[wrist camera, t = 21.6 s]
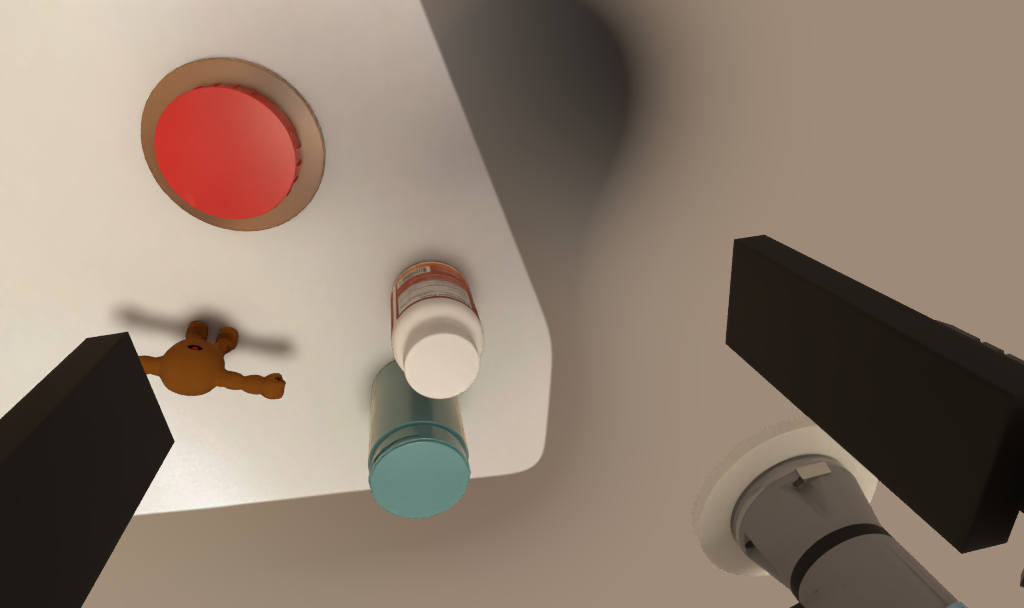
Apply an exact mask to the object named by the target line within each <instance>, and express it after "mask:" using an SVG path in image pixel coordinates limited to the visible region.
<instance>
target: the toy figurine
mask: <svg viewBox="0 0 1024 608" xmlns="http://www.w3.org/2000/svg"><path fill="white" fill-rule="evenodd" d="M207 336H208V327H207V325H206V324H205V323H203V322H200V321H194V322H191V323H190V324H189V326H188V329H187V332H186V340H182V341H180V342H178V343H176V344H175V345H173V346H172V347H171V348H170V349H169V350H168V351H167V352H166V353H165V354H164V355H163V356H161V357H156V358H155V357H151V356H138V357H139V359H140V361H141V364H142V366H143V368H144V371H145V373H146V374H153V375H157V376H159V377H160V378H161V380H162V382H163V384H164V385H165V386H166V387H167V388H168V389H169V390H170V391H172V392H175V393H177V394H180V395H186V396H197V395H203V394H205V393H207V392H209V391H211V390H212V389H213V388H214V387H216V386H219V387H225V388H228V389H231V390H240V389H241V390H243V391H245V392H247V393H250V394H261V395H262V396H264V397H265V398H268V399H280V398H282V396H283V394H284V387H285V384H286V382H285V381H284V380H283V379H282V375H281V374H279V373H273V374H270V375H268V376H266V377H262V376H259V375H249V376H246V377H245V376H243V375H241V374H240V373H237V372H232V371H227V370H226V369H225V362H224V358H223V357H224V355H225V354H227V353H228V352H230V351H231V350H233V349H235V347H236V346H237V342H238V333H237V331H236V330H235V329H232V328H223V329H221V330H220V331H219V333H218V336H217V339H216V344H212V343H210V342H208V341H206V340H207ZM276 380H277V381H276Z"/></svg>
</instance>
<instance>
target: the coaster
mask: <svg viewBox="0 0 1024 608" xmlns="http://www.w3.org/2000/svg"><path fill="white" fill-rule="evenodd" d="M216 83H220V84H230V85H237V84H238V85H239V86H241V87H245V88H248V89H251V90H253V91H255V90H256V91H257V93H259V94H261V95H263V96H265V97H266V98H268V99H269V100H270V101H271V100H272V101H273V103H274V104H275V105H276V106H278V107H279V108H280V109H281V111H282V112H283V113H284V114H286V117H287V118H288V119H289V121H290V122H291V124H292V126H293V128H294V129H296V131H295V132H296V134H297V137H298V140H299V144H300V145H301V148H300V150H301V162H302V164H301V165H300V170H299V173H298V177H299V178H298V179H297V181H296V182H295V184H294V185H293V186H292V188H291V189H290V190H291V192H290V193H289V195H288V196H287V197H285V198H284V199H283V200H282V201H281V202H280V203H279V204H278V205H277V207H276V208H273V209H272V210H270V211H268V212H267V213H264V214H262V215H260V216H257V217H253V218H248V219H224V218H220V217H215V216H212V215H209V214H206V213H204V212H202V211H200V210H198V209H196V208H194V207H193V206H191V205H190V204H188V203H187V202H186V201H184V200H183V199H182V198H181V197H180V196H179V195H177V194H176V193H175V191H174V190H173V189H172V188H171V187H170V186H169V184H168V183H167V181H166V180H165V178H164V176H163V174H162V173H161V171H160V168H159V166H158V163H157V160H156V155H155V149H154V135H155V130H156V126H157V123H158V120H159V118H160V116H161V114H162V113H163V111H164V110H165V109H166V107H167V106H168V105H169V104H170V103H171V102H172V101H173V100H175V99H176V98H177V96H180V95H182V94H184V93H186V92H188V91H191V90H193V88H196V87H200V86H203V87H206V86H210V85H212V84H216ZM141 141H142V148H143V152H144V155H145V159H146V161H147V164H148V166H149V169H150V171H151V173H152V174H153V176H154V178H155V180H156V181H157V183H158V184H159V185H160V187H161V188H162V189H163V191H164V192H165V193H166V194H167V195H168V196H169V197H170V198H171V199H172V200H173V201H174V202H175V203H176V204H177V205H178V206H180V207H181V208H182V209H183V210H185V211H186V212H188V213H189V214H191V215H192V216H194V217H196V218H198V219H200V220H202V221H204V222H206V223H209V224H211V225H214V226H217V227H220V228H224V229H229V230H235V231H259V230H264V229H269V228H272V227H276V226H279V225H281V224H283V223H285V222H287V221H289V220H290V219H292V218H294V217H295V216H297V215H298V214H299V213H300V212H301V211H302V210H303V209H304V208H305V207H306V206H307V205H308V204H309V203H310V201H311V200H312V198H313V197H314V195H315V194H316V192H317V190H318V187H319V185H320V183H321V180H322V176H323V173H324V166H325V147H324V140H323V136H322V132H321V129H320V126H319V124H318V122H317V119H316V117H315V115H314V114H313V112H312V110H311V108H310V107H309V105H308V104H307V103H306V101H305V100H304V99H303V97H302V96H301V95H300V94H299V93H298V92H297V91H296V90H295V89H294V88H293V87H292V86H291V85H290V84H288V83H287V82H286V81H285V80H284V79H282V78H281V77H279V76H278V75H276V74H275V73H273V72H271V71H269V70H267V69H265V68H263V67H261V66H258V65H256V64H253V63H250V62H246V61H242V60H238V59H230V58H210V59H203V60H197V61H194V62H191V63H187V64H185V65H183V66H181V67H179V68H177V69H175V70H174V71H172V72H171V73H169V74H168V75H166V76H165V77H164V78H163V79H162V80H161V81H160V82H159V83H158V84H157V86H156V87H155V88H154V90H153V91H152V92H151V94H150V96H149V98H148V100H147V102H146V105H145V108H144V111H143V115H142V121H141Z"/></svg>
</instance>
